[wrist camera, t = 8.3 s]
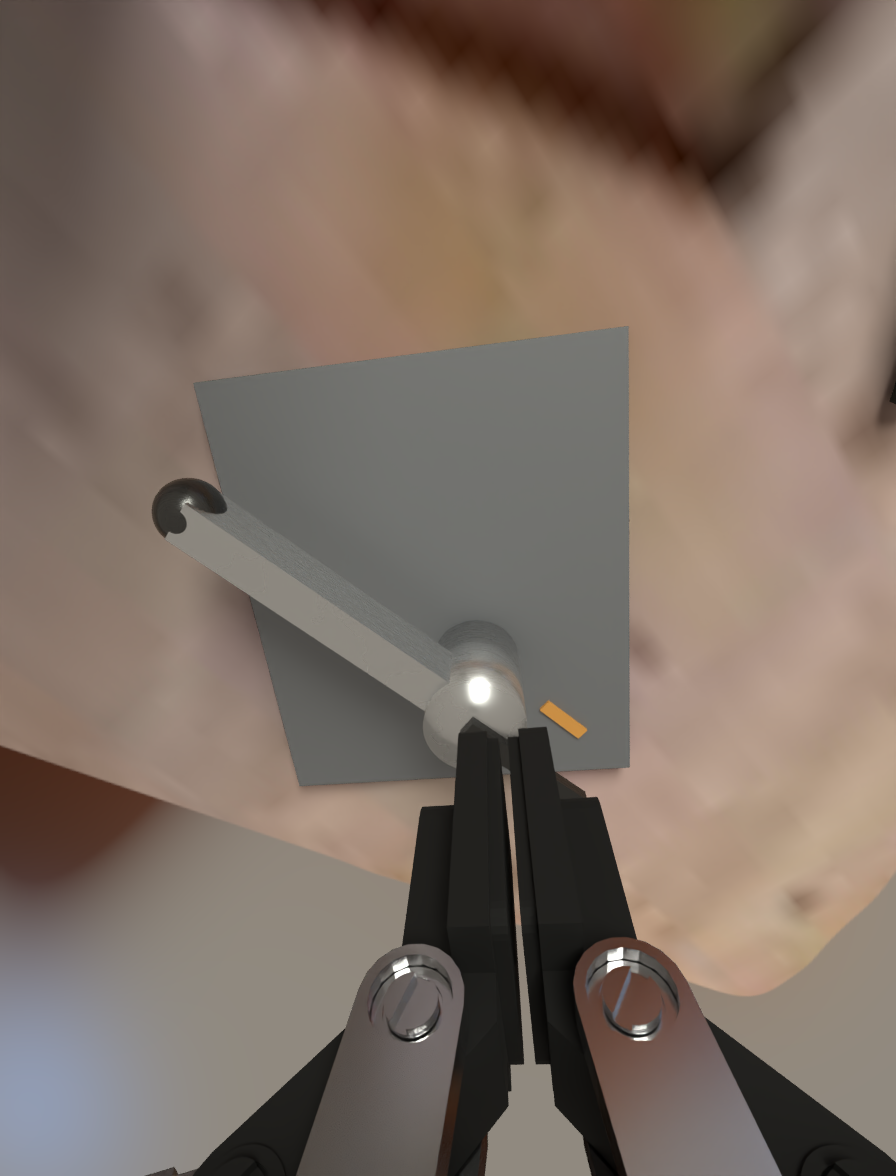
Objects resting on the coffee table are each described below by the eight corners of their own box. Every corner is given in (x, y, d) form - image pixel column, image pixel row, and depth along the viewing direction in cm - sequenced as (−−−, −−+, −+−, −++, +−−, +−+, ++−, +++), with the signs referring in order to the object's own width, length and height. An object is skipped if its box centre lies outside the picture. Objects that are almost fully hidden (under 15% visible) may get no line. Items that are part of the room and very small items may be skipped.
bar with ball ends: (189, 509, 31) (102, 551, 24) (231, 434, 29) (152, 456, 22) (534, 743, 35) (546, 836, 28) (587, 689, 34) (615, 774, 27)
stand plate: (206, 382, 30) (190, 382, 29) (621, 328, 28) (629, 325, 27) (306, 771, 40) (298, 788, 38) (624, 752, 38) (630, 770, 36)
